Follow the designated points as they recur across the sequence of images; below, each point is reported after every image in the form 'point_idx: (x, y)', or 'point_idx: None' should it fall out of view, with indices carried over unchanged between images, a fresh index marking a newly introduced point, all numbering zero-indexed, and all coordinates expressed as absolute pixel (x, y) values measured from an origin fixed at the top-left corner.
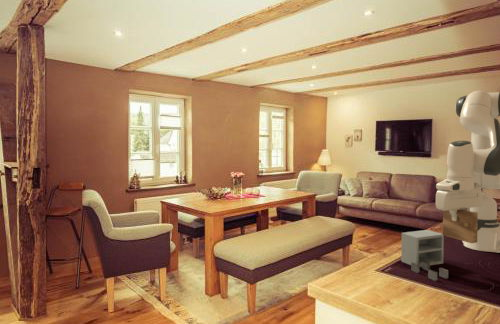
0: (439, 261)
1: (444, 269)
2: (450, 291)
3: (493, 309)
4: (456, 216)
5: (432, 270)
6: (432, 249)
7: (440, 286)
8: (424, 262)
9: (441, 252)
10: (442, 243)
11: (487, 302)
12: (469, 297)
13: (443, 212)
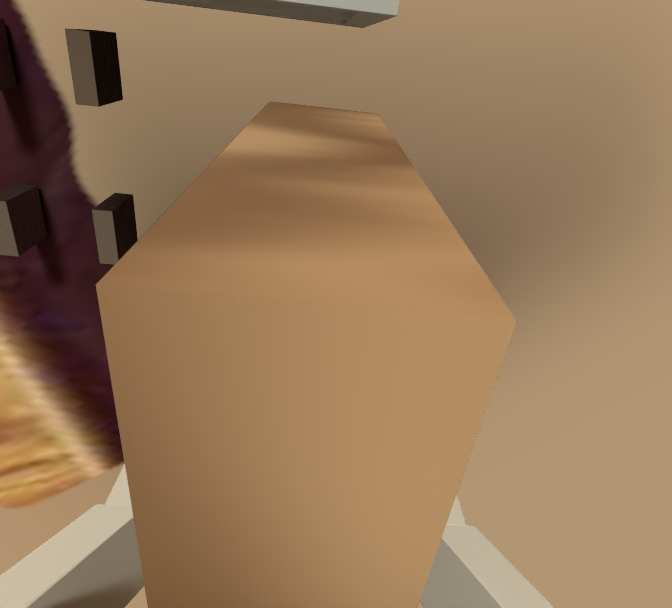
0: (320, 21)
1: (106, 244)
2: (25, 342)
3: (72, 481)
4: (133, 571)
5: (7, 221)
6: (215, 2)
7: (16, 287)
8: (71, 63)
9: (346, 20)
10: (363, 19)
11: (100, 450)
12: (65, 405)
13: (177, 218)
